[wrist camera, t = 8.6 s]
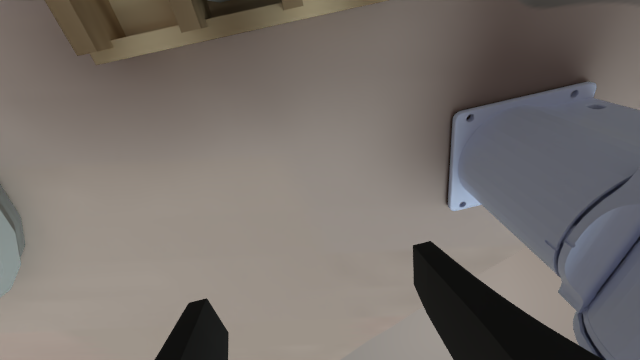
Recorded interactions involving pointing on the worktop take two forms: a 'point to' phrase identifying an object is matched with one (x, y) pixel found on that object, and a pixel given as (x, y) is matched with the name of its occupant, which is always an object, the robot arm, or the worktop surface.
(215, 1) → the upright pale blue slab
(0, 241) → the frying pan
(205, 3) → the rack
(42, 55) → the worktop surface
